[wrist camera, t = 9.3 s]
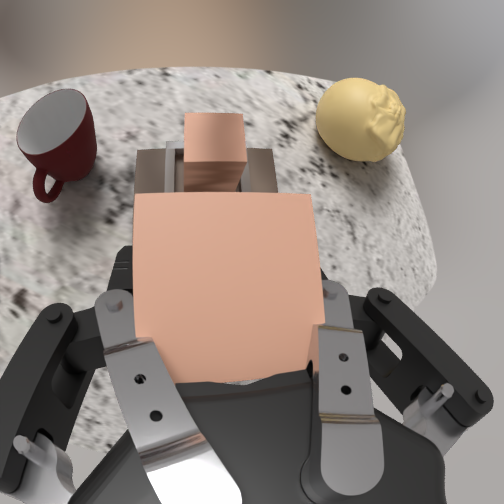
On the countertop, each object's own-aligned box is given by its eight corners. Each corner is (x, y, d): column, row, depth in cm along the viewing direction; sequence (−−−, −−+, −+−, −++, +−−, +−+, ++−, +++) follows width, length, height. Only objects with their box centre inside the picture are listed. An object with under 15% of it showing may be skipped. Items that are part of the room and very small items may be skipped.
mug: (94, 219, 28) (61, 182, 19) (38, 214, 27) (-4, 181, 17) (115, 139, 31) (99, 86, 21) (62, 139, 29) (35, 91, 19)
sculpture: (365, 188, 37) (414, 152, 27) (293, 137, 36) (327, 85, 26) (385, 139, 40) (425, 103, 30) (324, 95, 39) (355, 49, 29)
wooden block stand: (137, 312, 27) (111, 311, 18) (138, 155, 31) (125, 99, 21) (286, 301, 31) (330, 295, 21) (269, 154, 34) (297, 103, 25)
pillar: (166, 345, 15) (140, 385, 6) (161, 256, 16) (135, 193, 7) (254, 340, 16) (327, 366, 7) (248, 254, 17) (310, 194, 8)
